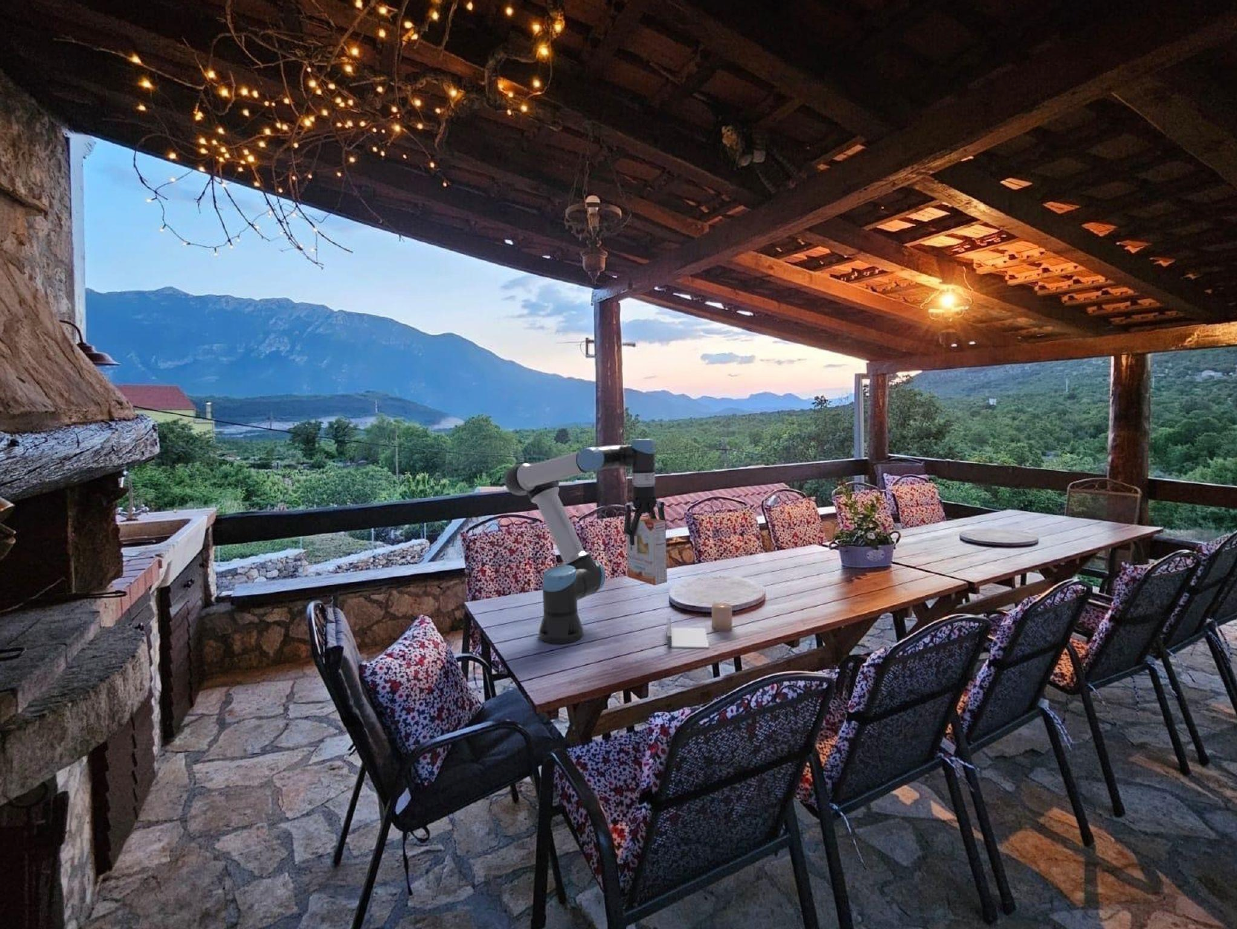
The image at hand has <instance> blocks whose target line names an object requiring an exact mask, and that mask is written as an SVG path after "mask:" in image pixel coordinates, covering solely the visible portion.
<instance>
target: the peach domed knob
mask: <svg viewBox="0 0 1237 929" xmlns="http://www.w3.org/2000/svg"><path fill="white" fill-rule="evenodd" d="M711 630H713V631H716V632H723V633H724V632H730V631H732V630H733V605H731V604H730V603H727V602H715V603H712V604H711Z"/></svg>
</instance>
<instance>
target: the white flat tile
mask: <svg viewBox="0 0 1237 929" xmlns="http://www.w3.org/2000/svg"><path fill="white" fill-rule="evenodd" d="M666 629H667V630H666V632H667V638H666V639H667V648H668V649H710V645H709V641H708V640H709V639H708V635H707V629H706V628H705V627H704V628H703V627H700V628H699V627H693V628H692V627H672V619H671V617H670V618H669V617H668V618H667V622H666Z"/></svg>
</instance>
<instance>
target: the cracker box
mask: <svg viewBox="0 0 1237 929" xmlns="http://www.w3.org/2000/svg"><path fill="white" fill-rule="evenodd" d="M633 518H634V516H631V523H630V528H631V524H632V521H633ZM666 527H667V522H666V519H665V520H659V518H657V519H652V518H650V517H646V516H641V517H640V520H639V523H638V526H637V529H636V532H635V535H636V536H637V551H638V555H636V556H635V555H634V554H633V551H632V545H630V537H629V535H628V534H625V535H626V538H625V539H626V564H627V566H626V567H627V572H626V573H627V578H630V579H633V580H636V581H639V582H643V583H645V584H649V585H653V586H658V585H660V584H664V583H667V581H668V575H667V574H668V568H667V534H666V532H667V530H666Z"/></svg>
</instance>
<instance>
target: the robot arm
mask: <svg viewBox="0 0 1237 929" xmlns="http://www.w3.org/2000/svg"><path fill="white" fill-rule="evenodd" d="M654 444H655V443H654V440H653V439H652V438H634V439H631V442H630V444H628V445H627V444H608V445H604V446H587V447H586V448H582V449H581V450H579V451H576V452H575V451H574V452H571V453H569V454H564V455H561V456H557V457H553V458H551V459H547V460H544V461H535V462H529V463H518V464H514V465H512V466H511V467H509V468H508V469H507V471H505V474H504V478H503V481H504V485H505V487H506V489H507V490H508V491H509V493H512V494H513V495H515V496H527V495H528V497H529V498H528V499H529V500H530V502H531V503H533V504H536V505H537V507H538V509H539V512H540V513H541V516H542V518H543V520H544V522H545V524H546V527H547V529H548V531H549V533H550V536H551V538H552V540H553V543H554V544H555V546H556V548H557V551H558V552H559V556H560V558H561V560H562V564H561V565H556V566H552V567H550V568H548V569H547V570H545V571H544V573H543V575H542V584H541V586H542V601H543V603H542V604H543V605H542V606H543V616H542V620H541V622H540V625H539V626H540V627H539V630H538V636H539V639H540V640H541V641H542V642H544V643H548V644H553V645H554V644H555V645H557V644H561V645H562V644H569V643H574V642H575V641H579V640H580V639H582V637H583V636H584V627H583V625H582V622H581V618H580V616H579V614H578V601H579V600H581V599H583V598H586V597H588V596H591V595H594V594H596V593H597V592H598V591H601V589H603V587H604V585H605V582H606V578H607V577H606V576H607V575H606V569H605V567H604V566H603V564H602V563H601V562H600V561H598V560H597V559H593V557H592V554H591V553H590V552H588V551H585V550H584V547H583V545H582V543H581V541H580V538H579V537H578V535H577V532H576V530H575V528H574V526H573V524H572V521H571V520H570V517H569V516H568V512H567V510H566V509H565V507H564V505H563V502H562V501H561V499H560V496H559V491H560V488H559V484H560V481H561V480H564V479H567V478H572V477H575V476H579V475H582V474H583V475H584V474H587V473H588V474H589V473H592V472H595V471H600V470H607V469H614V468H631V470H632V471H631V473H632V474H631V475H632V477H631V478H632V485H633V486H632V502H631V503H625V504H624V505H623V506H624V509H625V510H624V512H625V514H624V523H623V533H624V534H625V535H626V534H628V535H629V537H630V545H632V551H633V554H634V555H635V556H636V555H638V551H637V536H636V535H635V532H636V529H637V526H638V523H639V520H640V517H642V515H644V514H648V515H649V518H652V519H659V520H665V521H666V515H665V509H664V508H665V502H664V501H662V500H657V499H656V495H657V494H656V493H657V492H656V486H655V483H656V471H655V470H656V469H655V453H656V452H655V446H654ZM655 507H657V514H658V518H657V516H656V511H655ZM633 508H634V509H635V511H634V515H633V517H634V518H633V521H632V524H631V528H630V523H631V517H632V510H633ZM667 528H668V527H667V526H666V531H667Z"/></svg>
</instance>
